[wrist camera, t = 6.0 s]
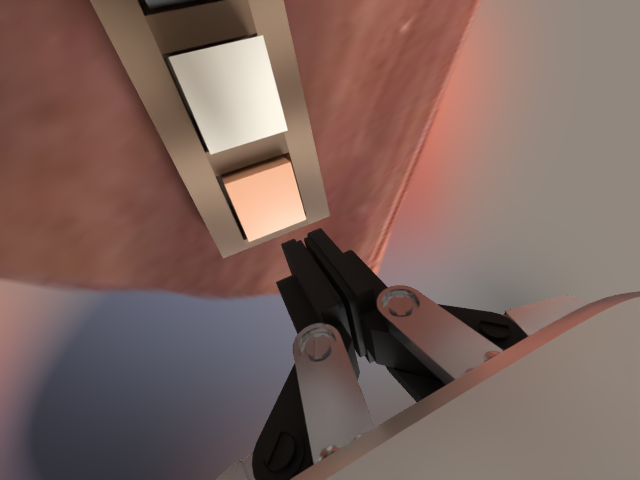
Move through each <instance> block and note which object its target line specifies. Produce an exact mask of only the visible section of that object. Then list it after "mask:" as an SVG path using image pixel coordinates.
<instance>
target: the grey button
mask: <svg viewBox="0 0 640 480" xmlns="http://www.w3.org/2000/svg"><path fill="white" fill-rule="evenodd" d="M145 1H146V3H147V5H148V7H149V9H154V8H159V7H164V6H169V5H174V4H179V3H185V2H190V1H195V0H145Z"/></svg>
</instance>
